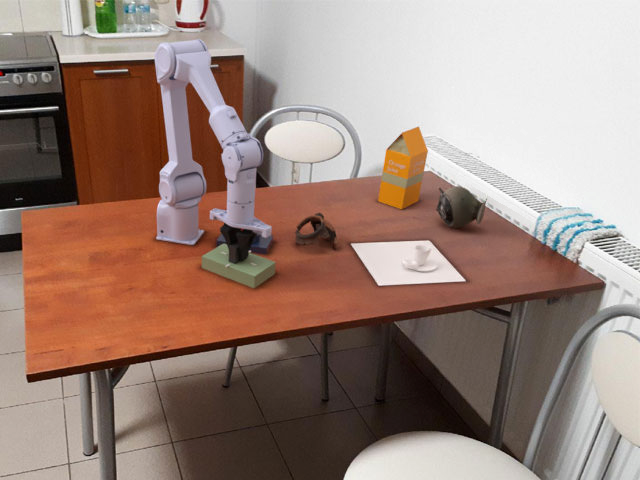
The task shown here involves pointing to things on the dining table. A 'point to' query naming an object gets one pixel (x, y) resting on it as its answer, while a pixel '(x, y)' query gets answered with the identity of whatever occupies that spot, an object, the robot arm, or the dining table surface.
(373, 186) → the dining table surface
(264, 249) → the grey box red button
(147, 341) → the dining table surface
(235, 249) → the grey box red tab
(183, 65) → the robot arm
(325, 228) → the dark brown ringed frame
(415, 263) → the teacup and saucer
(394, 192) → the orange juice
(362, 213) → the dining table surface
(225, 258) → the green toggle switch panel
